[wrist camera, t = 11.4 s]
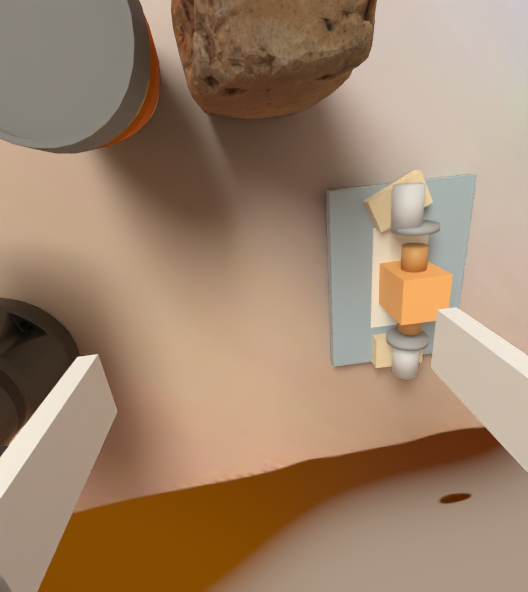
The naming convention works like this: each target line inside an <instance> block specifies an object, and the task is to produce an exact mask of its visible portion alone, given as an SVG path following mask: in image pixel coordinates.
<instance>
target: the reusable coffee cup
mask: <svg viewBox="0 0 528 592" xmlns="http://www.w3.org/2000/svg"><path fill="white" fill-rule="evenodd" d="M160 79H161V77H160V67H159V60H158V56H157V53H156V49H155V45H154V42H153V38H152V35H151V31H150V28H149V24H148V22H147V20H146V18H145V15H144V13H143V10H142V6H141V4H140V1H139V0H0V139H2V140H4V141H7V142H10V143H12V144H16V145H20V146H24V147H28V148H33V149H37V150H42V151H47V152H52V153H80V152H85V151H89V150H94V149H98V148H103V147H107V146H110V145H113V144H115V143H118V142H121V141H123V140H125V139H127V138H129V137H131V136H133V135H134V134H135V133H137V132H138V131H139V130H140V129H142V128H143V126H144V125H145V124H146V123H147V122H148V121H149V119H150V118H151V117H152V115H153V113H154V111H155V109H156V107H157V103H158V100H159V92H160Z"/></svg>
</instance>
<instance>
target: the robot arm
mask: <svg viewBox="0 0 528 592" xmlns="http://www.w3.org/2000/svg"><path fill="white" fill-rule="evenodd" d="M431 369H432V370H433V371H434V372H435V373H436V374H437V376H438V377H439V378H440V379H441V380H442V381H443V382H444V383H445V384H446V385H447V386H448V387H449V388H450V390H451V391H452V392H453V393H454V394H455V395H456V396H457V397H458V398H459V399H460V400H461V401H462V402H463V404H464V405H465V406H466V407H467V408H468V409H469V410H470V411H471V412H472V413H473V414H474V415H475V416H476V417H477V419H478V420H479V421H480V422H481V423H482V424H483V425H484V426H485V427H486V428H487V429H488V430H489V431H490V433H492V435H493V436H494V437H495V438H496V439H497V440H498V441H499V442H500V443H501V444H502V445H503V446H504V447H505V449H506V450H507V451H508V452H509V453H510V454H511V455H512V456H513V457H514V458H515V459H516V461H517V462H518V463H520V465H521V466H522V467H523V468H524V469H525V470H526V471H527V472H528V356H527V355H526V354H524V353H523V352H521V351H520V350H518V349H517V348H515V347H514V346H513V345H511V344H510V343H508V342H507V341H505V340H504V339H502V338H501V337H499V336H498V335H496V334H495V333H493V332H492V331H490V330H489V329H488V328H486V327H485V326H483V325H482V324H480V323H479V322H477V321H476V320H474V319H473V318H471V317H470V316H468V315H467V314H465V313H464V312H462V311H461V310H460V309H458V308H457V307H454V308H446V309H438V310H437V316H436V325H435V335H434V344H433V353H432V362H431ZM117 412H118V411H117V408H116V405H115V402H114V399H113V396H112V393H111V390H110V387H109V384H108V382H107V379H106V376H105V373H104V370H103V367H102V364H101V361H100V358H99V355H98V354H95V355H87V356H80V357H79V355H78V351H77V348H76V345H75V343H74V341H73V339H72V337H71V336H70V334H69V333H68V332H67V330H66V329H65V328H64V327H63V326H62V325H61V324H60V323H59V322H58V321H57V320H56V319H55V318H53V317H52V316H51V315H49V314H48V313H46V312H45V311H43V310H41V309H39V308H37V307H35V306H33V305H30V304H27V303H25V302H21V301H17V300H12V299H5V298H0V592H37V591H38V589H39V586H40V584H41V582H42V580H43V577H44V575H45V573H46V571H47V568H48V566H49V564H50V562H51V560H52V557H53V555H54V553H55V551H56V548H57V546H58V544H59V541H60V539H61V537H62V535H63V533H64V530H65V528H66V526H67V524H68V521H69V519H70V517H71V515H72V513H73V510H74V508H75V506H76V504H77V502H78V499H79V497H80V495H81V493H82V490H83V488H84V486H85V484H86V481H87V479H88V477H89V475H90V472H91V470H92V468H93V466H94V464H95V461H96V459H97V457H98V455H99V452H100V450H101V448H102V446H103V443H104V441H105V439H106V437H107V435H108V432H109V430H110V428H111V426H112V423H113V421H114V419H115V417H116V414H117ZM24 425H25V426H24ZM23 426H24V427H23ZM21 427H23V428H22V430H21V431H20V432H19V434H18V435H17V436H16V437H15V439H14V440H13V441H12V443H11V444H10V445H8V444H9V442H10V441H11V440H12V438H13V437H14V436H15V434H16V433H17V432H18V431H19V429H20V428H21ZM7 445H8V446H7Z"/></svg>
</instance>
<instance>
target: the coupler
mask: <svg viewBox="0 0 528 592" xmlns="http://www.w3.org/2000/svg"><path fill="white" fill-rule="evenodd" d="M428 251H429V245H428V244H425V243H406V244H403V245H402V250H401V261H393V262H385V263H380V268H379V304H380V305H381V306H382V307H383V308H384V309H385V310H386V311H387V312H388V313H389V314H390V315H391V316H392V317H393V318H394V319H395V320H396V321H397V322H398V324H397V330H398V331H399V332H400V333H402V334H405V335H418V334H420V333H421V331H422V323H423V322H431V321H436V316H437V310H438V309H446V308H449V302H450V294H451V285H452V277H453V274H451V273H449V272H447V271H445V270H443V269H442V268H440V267H438V266H436V265H434V264H432V263H431V262H429V261H428Z"/></svg>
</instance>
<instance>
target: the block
mask: <svg viewBox="0 0 528 592" xmlns="http://www.w3.org/2000/svg"><path fill="white" fill-rule="evenodd" d="M376 2H377V0H172V2H171V14H172V22H173V29H174V34H175V38H176V42H177V47H178V51H179V55H180V59H181V62H182V65H183V70H184V73H185V76H186V80H187V84H188V88H189V90H190V92H191V95H192V97H193V98H194V100H195V101H196V102H197V104H198V105H199V106H200V107H201V108H202V110H203V111H204V112H205V113H207V114H209V115H212V116H220V117H227V118H234V119H251V120H254V119H267V118H277V117H282V116H287V115H291V114H295V113H297V112H300V111H302V110H305V109H307V108H309V107H311V106H313V105H315V104H316V103H318V102H319V101H321V100H322V99H324V98H325V97H327V96H329V95H330V94H331V93H333V92H334V91H335V90H336V89H337V88H338V87H339V86H341V85H342V84H343V83H344V81H346V80H347V79H348V78H349V77H350V75H351V72H352V70H353V69H354V68H356V67H358V66H359V65H360V64H361V63H362V62H364V61H365V60H366V59H367V58H368V56H369V53H370V50H371V47H372V41H373V33H374V23H375V9H376Z"/></svg>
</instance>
